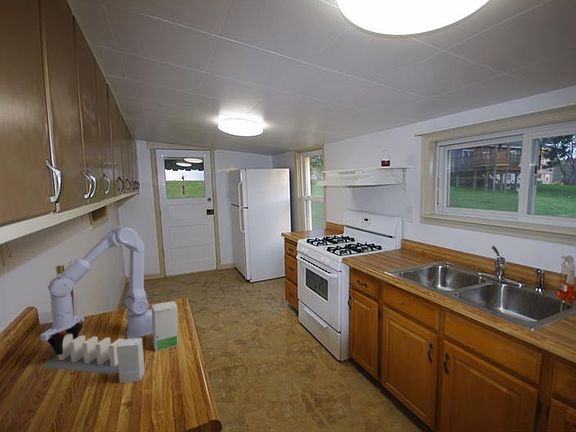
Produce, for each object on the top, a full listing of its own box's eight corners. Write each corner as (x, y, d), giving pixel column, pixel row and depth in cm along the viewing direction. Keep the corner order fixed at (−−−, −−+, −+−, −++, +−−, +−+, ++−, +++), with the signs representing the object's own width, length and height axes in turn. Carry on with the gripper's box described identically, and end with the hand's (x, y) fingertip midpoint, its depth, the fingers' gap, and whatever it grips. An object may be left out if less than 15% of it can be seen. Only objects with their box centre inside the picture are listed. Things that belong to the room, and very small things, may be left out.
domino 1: (58, 359, 99) (56, 340, 98) (70, 352, 103) (68, 333, 103) (62, 360, 99) (60, 340, 98) (74, 352, 103) (72, 334, 102)
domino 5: (110, 365, 96) (109, 345, 95) (120, 358, 100) (119, 338, 99) (114, 366, 95) (113, 345, 95) (124, 358, 100) (123, 338, 99)
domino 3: (84, 362, 97) (82, 343, 97) (95, 355, 102) (93, 336, 101) (88, 363, 97) (86, 343, 96) (99, 355, 101) (97, 336, 101)
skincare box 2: (155, 353, 104) (152, 311, 102) (152, 344, 109) (150, 304, 108) (179, 346, 108) (177, 305, 107) (176, 338, 114) (174, 299, 112)
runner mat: (39, 367, 96) (39, 366, 96) (72, 347, 108) (72, 346, 108) (114, 375, 91) (114, 374, 91) (140, 354, 103) (140, 353, 103)
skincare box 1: (145, 373, 92) (142, 337, 91) (140, 382, 88) (138, 344, 87) (124, 375, 91) (121, 339, 90) (119, 384, 87) (116, 346, 86)
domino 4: (97, 364, 97) (95, 344, 96) (107, 356, 101) (106, 337, 100) (101, 364, 96) (99, 344, 96) (111, 357, 101) (110, 337, 100)
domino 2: (71, 361, 98) (69, 341, 98) (82, 354, 103) (81, 335, 102) (75, 362, 98) (73, 342, 97) (86, 354, 102) (85, 335, 102)
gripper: (71, 303, 107) (74, 338, 109) (30, 321, 93) (35, 361, 94) (88, 304, 106) (91, 339, 108) (49, 322, 92) (53, 363, 93)
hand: (66, 349), depth 101 cm, fingers open, 5 cm apart
